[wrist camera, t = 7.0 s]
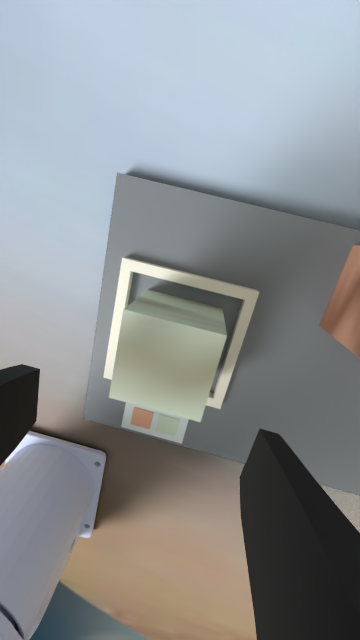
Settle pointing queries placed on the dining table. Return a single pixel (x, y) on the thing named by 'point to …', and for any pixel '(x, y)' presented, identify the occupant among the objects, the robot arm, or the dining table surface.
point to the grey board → (237, 324)
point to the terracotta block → (346, 305)
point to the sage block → (168, 354)
